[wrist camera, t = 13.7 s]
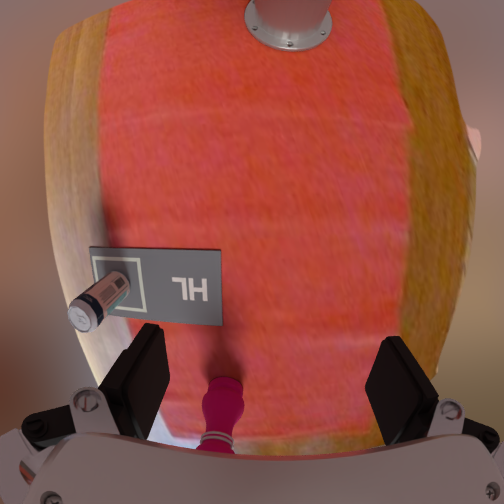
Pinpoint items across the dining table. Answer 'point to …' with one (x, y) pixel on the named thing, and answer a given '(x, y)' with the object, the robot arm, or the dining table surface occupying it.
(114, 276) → the beer can
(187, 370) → the dining table surface
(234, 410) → the pepper mill
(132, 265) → the slate board
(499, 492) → the robot arm
